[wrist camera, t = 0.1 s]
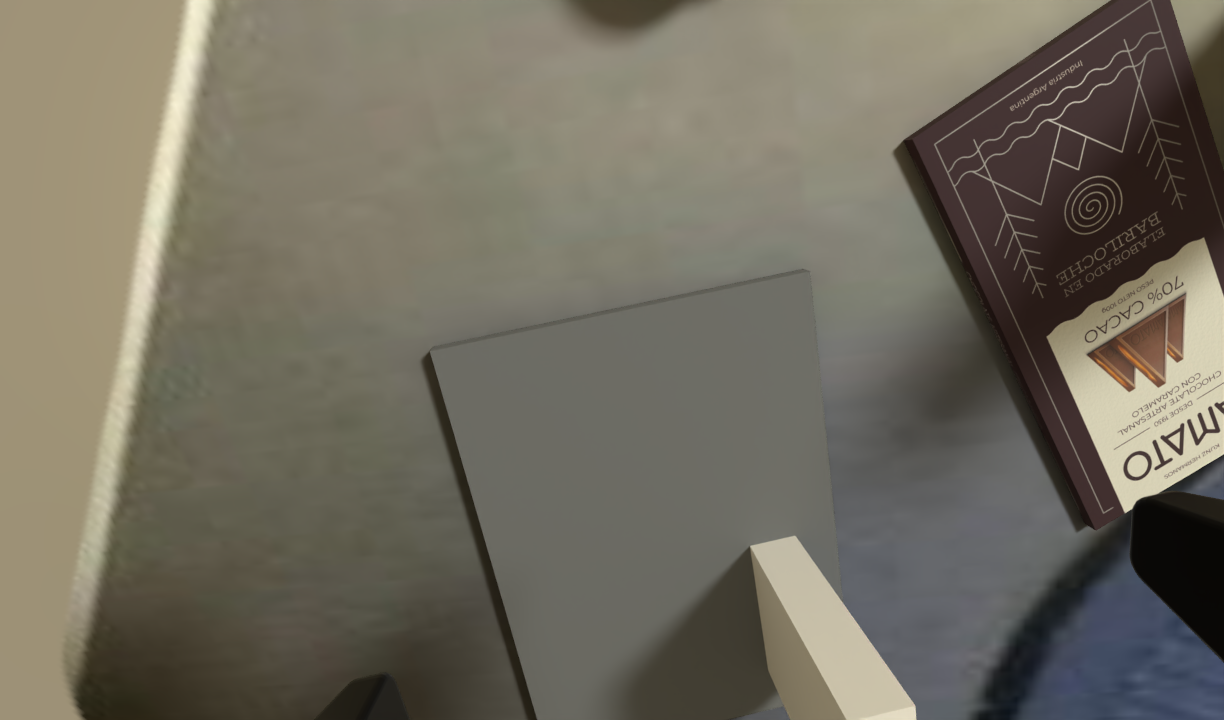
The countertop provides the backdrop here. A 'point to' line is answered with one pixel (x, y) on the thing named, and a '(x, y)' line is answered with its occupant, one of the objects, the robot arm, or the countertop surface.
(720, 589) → the mat
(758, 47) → the countertop surface
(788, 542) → the card box
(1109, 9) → the chocolate bar
